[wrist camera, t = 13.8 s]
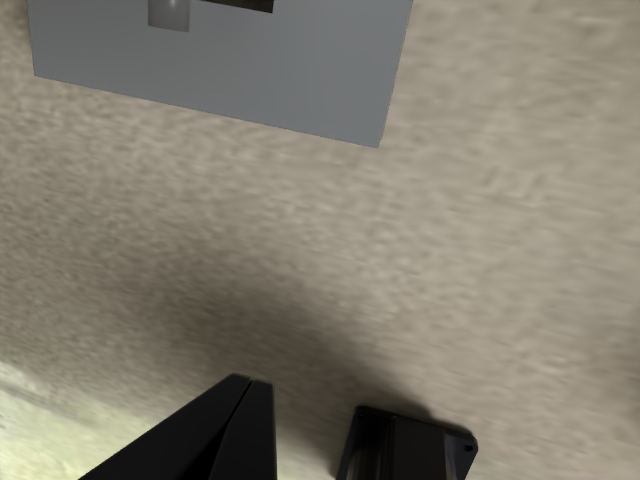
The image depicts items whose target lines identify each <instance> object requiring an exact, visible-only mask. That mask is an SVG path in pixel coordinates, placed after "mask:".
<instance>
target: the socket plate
mask: <svg viewBox="0 0 640 480" xmlns="http://www.w3.org/2000/svg"><path fill="white" fill-rule="evenodd" d="M412 3H413V0H274V5H273V14H272V13H267V12H261V11H256V10H250V9H245V8H239V7H234V6H228V5H223V4H217V3H212V2H206V1H201V0H190V20H189V32H181V31H174V30H168V29H162V28H156V27H152V26H148V0H27V9H28V18H29V28H30V38H31V48H32V58H33V67H34V76H37V77H42V78H46V79H51V80H56V81H61V82H65V83H70V84H75V85H80V86H84V87H89V88H94V89H98V90H103V91H108V92H113V93H117V94H122V95H127V96H132V97H136V98H141V99H146V100H150V101H155V102H160V103H165V104H169V105H174V106H179V107H184V108H188V109H193V110H198V111H202V112H207V113H212V114H217V115H221V116H226V117H231V118H236V119H240V120H245V121H250V122H254V123H259V124H264V125H269V126H273V127H278V128H283V129H288V130H292V131H297V132H302V133H306V134H311V135H316V136H321V137H325V138H330V139H335V140H340V141H344V142H349V143H354V144H358V145H363V146H368V147H373V148H377V149H378V147H379V145H380V142H381V139H382V136H383V131H384V127H385V122H386V118H387V113H388V109H389V105H390V100H391V96H392V91H393V87H394V82H395V78H396V73H397V69H398V65H399V60H400V56H401V51H402V47H403V42H404V38H405V34H406V29H407V25H408V20H409V16H410V11H411V7H412Z"/></svg>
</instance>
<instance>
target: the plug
mask: <svg viewBox="0 0 640 480" xmlns="http://www.w3.org/2000/svg"><path fill="white" fill-rule="evenodd" d="M189 20H190V0H148V26H152V27H156V28H162V29H168V30H174V31H181V32H189Z"/></svg>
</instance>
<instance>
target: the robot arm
mask: <svg viewBox="0 0 640 480" xmlns="http://www.w3.org/2000/svg"><path fill="white" fill-rule="evenodd" d="M361 415H365V416H361ZM466 444H470V445H466ZM477 452H478V443H477V440H476V438H475V437H474V436H471V435H469V434H465V433H461V432H458V431H454V430H451V429H447V428H443V427H440V426H436V425H433V424H429V423H425V422H422V421H418V420H415V419H411V418H407V417H404V416H400V415H396V414H393V413H389V412H386V411H382V410H378V409H375V408H371V407H368V406H362V405H361V406H358V407H356V408H355V410H354V413H353V417H352V420H351V424H350V428H349V431H348V435H347V439H346V442H345V446H344V450H343V454H342V457H341V461H340V465H339V468H338V472H337V476H336V480H465V478H466V476H467V474H468V471H469V469H470V467H471V465H472V463H473V460H474V458H475V456H476V454H477ZM78 480H277V453H276V420H275V388H274V384H273V383H271V382H267V381H264V380H260V379H254V380H253V379H252V378H251V377H249V376H246V375H242V374H239V373H232V374H230V375H228V376H227V377H225V378H224V379H223V380H221V381H220V382H218V383H217V384H215V385H214V386H212V387H211V388H210V389H208V390H207V391H205V392H204V393H202V394H201V395H199V396H198V397H197V398H195V399H194V400H192V401H191V402H189V403H188V404H186V405H185V406H183V407H182V408H181V409H179V410H178V411H176V412H175V413H173V414H172V415H170V416H169V417H168V418H166V419H165V420H163V421H162V422H160V423H159V424H157V425H156V426H155V427H153V428H152V429H150V430H149V431H147V432H146V433H144V434H143V435H141V436H140V437H139V438H137V439H136V440H134V441H133V442H131V443H130V444H128V445H127V446H126V447H124V448H123V449H121V450H120V451H118V452H117V453H115V454H114V455H113V456H111V457H110V458H108V459H107V460H105V461H104V462H102V463H101V464H99V465H98V466H97V467H95V468H94V469H92V470H91V471H89V472H88V473H86V474H85V475H84V476H82V477H81V478H79V479H78Z"/></svg>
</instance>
